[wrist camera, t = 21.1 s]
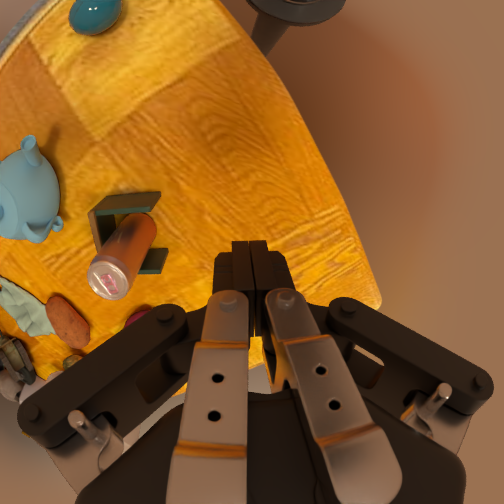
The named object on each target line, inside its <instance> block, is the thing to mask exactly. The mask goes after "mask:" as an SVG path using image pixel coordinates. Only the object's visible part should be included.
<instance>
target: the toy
mask: <svg viewBox="0 0 504 504" xmlns="http://www.w3.org/2000/svg"><path fill="white" fill-rule="evenodd" d="M0 335H1V337H0V359H1V360H2V362H3V364H4V366H5V367H6V369H7V371H8V372H9V374H10V376H11V377H12V379H13V380H14V382H16V381H17V380H18V377H17V375H16V373H15V372H17V371H18V370H20V369H21V368H22V367H24V366H26V367H27V369H28V370H29V371H31V370H32V369H34V368H33V366H32V364H31V362H30V360H29V357H28V355H27V353H26V351H25V349H24V347H23V346H22V344H21V342H20V341H19V340H17V339H16V337H15V338H13V339H11V340H10V339H9V338H8V337H7V336H4V335H3V334H2V332H1V330H0ZM23 362H24V363H23ZM24 364H25V365H24ZM14 371H15V372H14Z"/></svg>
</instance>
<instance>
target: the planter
mask: <svg viewBox="0 0 504 504" xmlns="http://www.w3.org/2000/svg"><path fill="white" fill-rule="evenodd" d="M2 370H5V369H4V364H3V362H2V360H1V359H0V371H2Z"/></svg>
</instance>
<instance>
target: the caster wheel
mask: <svg viewBox="0 0 504 504" xmlns="http://www.w3.org/2000/svg"><path fill="white" fill-rule="evenodd" d="M23 363H24V362H23ZM24 365H25V364H24ZM14 372H15V371H14ZM15 373H16V375H17V377H18V380H17V381H16V382H17V383H18V382H19V381H20V380H21V381H22V382H23V383H26V384H27V385H32V384H33V383H34V382H35V381H36V374H35V372H34V370H33V369H32V370H31V371H29V370H28V369H27V367H26V366H24V367H22V368H21V369H20V370H18V371H17V372H15Z"/></svg>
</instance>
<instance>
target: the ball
mask: <svg viewBox="0 0 504 504" xmlns="http://www.w3.org/2000/svg"><path fill="white" fill-rule="evenodd" d="M122 7H123V3H122V0H76V1H75V2H74V4H73V5H72V7H71V9H70V11H69V17H68V20H69V24H70V27H71V28H72V29H73V30H74V31H75V32H76V33H77V34H80V35H87V36H92V35H95V34H99V33H102V32H104V31H105V30H107V29H108V28H110V27H112V25H113V24H114V23H115V22H116V21H117V20H118V18H119V16H120V14H121V12H122Z"/></svg>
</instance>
